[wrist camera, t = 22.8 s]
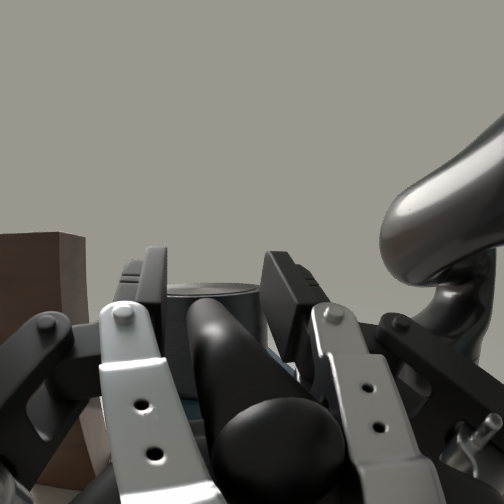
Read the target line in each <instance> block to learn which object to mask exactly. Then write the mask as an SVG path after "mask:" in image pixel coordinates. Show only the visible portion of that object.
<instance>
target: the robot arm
mask: <svg viewBox="0 0 504 504" xmlns="http://www.w3.org/2000/svg"><path fill="white" fill-rule="evenodd" d="M379 246H380V253H381V257H382V259H383V262H384V264H385V266H386V268H387V270H388V271H389V272H390V273H391V275H393V277H394V278H396V279H397V280H398V281H400V282H402V283H404V284H406V285H409V286H415V287H420V288H423V287H436V291H435V295H434V298H433V299H432V301H431V302H430V303H429V305H428V306H427V307H426V308H425V309H424V310H422V311H421V312H420V313H419V314H417V315H416V316H414V317H412V318H409V317H407V316H405V315H403V314H399V313H386V314H384V315H383V316H382V317H381V319H380V322H379V325H373V324H367V323H360V322H358V321H357V319H356V316H355V315H354V313H353V312H352V311H351V310H349V309H348V308H346V307H345V306H342V305H339V304H336V303H331V302H330V300H329V299H328V297H327V296H326V295H325V293H324V292H323V290H322V289H321V287H320V286H319V284H318V283H317V281H316V280H315V279H314V277H313V276H312V274H311V273H310V271H308V270H307V269H306V268H304V267H302V266H301V265H298V264H295V263H294V262H293V260H292V259H291V257H290V255H289V254H288V253H287V252H282V251H267V252H266V254H265V258H264V265H263V270H262V277H261V283H260V291H259V297H260V303H261V306H262V309H263V312H264V314H265V317H266V320H267V322H268V325H269V328H270V330H271V333H272V336H273V338H274V341H275V343H276V346H277V349H278V352H279V354H280V357H281V360H282V362H283V363H289V362H290V363H291V362H295V364H296V368H295V372H294V375H293V377H294V378H295V379H296V380H297V381H298V382H299V383H300V384H301V385H302V386H303V387H304V388H305V389H306V390H307V391H308V392H309V393H310V394H311V395H312V396H313V397H314V398H315V399H316V400H317V401H319V402H320V403H321V404H322V405H323V406H324V407H325V408H326V409H327V410H328V411H329V412H330V413H331V414H332V416H333V417H334V418H335V419H336V421H337V423H338V424H339V426H340V428H341V431H342V434H343V437H344V441H345V462H344V466H343V470H342V472H341V474H340V476H339V478H338V480H337V482H336V484H335V485H334V486H333V488H332V489H331V490H330V491H329V492H328V493H327V494H326V495H325V496H324V497H323V498H321V499H320V500H319V501H317V502H316V503H314V504H504V498H503V497H502V495H503V494H504V384H502V383H501V382H500V381H498V380H497V379H495V378H494V377H493V376H491V375H490V374H489V373H487V372H486V371H485V370H483V369H482V368H480V367H479V366H478V363H479V357H480V351H481V344H482V341H483V337H484V336H485V334H486V332H487V330H488V327H489V324H490V321H491V316H492V308H493V300H494V289H495V276H496V247H501V246H504V114H502V115H501V116H500V117H499V118H498V119H497V120H496V121H495V122H494V123H493V124H492V125H490V126H489V127H488V128H487V129H486V130H485V131H484V132H483V133H482V134H480V135H479V136H478V137H477V138H476V139H475V140H474V141H473V142H472V143H471V144H470V145H468V146H467V147H466V148H465V149H464V150H463V151H461V152H460V153H459V154H458V155H456V156H455V157H454V158H452V159H451V160H449V161H448V162H446V163H445V164H444V165H442V166H441V167H439V168H437V169H436V170H434V171H433V172H431V173H430V174H428V175H427V176H425V177H424V178H422V179H420V180H419V181H417V182H416V183H414V184H413V185H411V186H410V187H408V188H407V189H405V190H404V191H403V192H402V193H401V194H399V195H398V196H397V198H396V199H395V200H394V201H393V202H392V204H391V205H390V207H389V209H388V211H387V212H386V215H385V217H384V220H383V223H382V226H381V231H380V238H379ZM166 308H167V248H166V247H147V249H146V253H145V257H144V260H131V261H130V262H129V263H128V264H126V265H125V266H124V269H123V272H122V276H121V278H120V282H119V284H118V287H117V290H116V294H115V297H114V300H113V303H112V304H109V305H107V306H106V307H104V308H103V309H102V310H101V312H100V314H99V320H97V321H95V322H92V323H87V324H81V325H74V326H71V322H70V319H69V318H68V317H67V316H66V315H65V314H63V313H60V312H55V311H48V312H42V313H39V314H37V315H35V316H33V317H32V318H30V319H29V320H28V321H27V322H26V323H25V324H24V325H22V326H21V327H20V328H19V329H18V330H17V331H16V332H15V333H14V334H12V335H11V336H10V337H9V338H8V339H7V340H6V341H5V342H4V343H3V344H2V345H1V346H0V504H34V501H33V498H32V496H31V494H30V491H31V489H32V488H33V486H34V484H35V483H36V481H37V480H38V478H39V477H40V475H41V473H42V472H43V470H44V469H45V467H46V466H47V464H48V463H49V461H50V459H51V458H52V456H53V455H54V453H55V452H56V450H57V449H58V447H59V446H60V444H61V443H62V441H63V440H64V438H65V437H66V435H67V434H68V432H69V431H70V429H71V428H72V426H73V425H74V423H75V422H76V421H77V419H78V418H79V416H80V415H81V413H82V412H83V410H84V409H85V407H86V406H87V405H88V403H89V401H90V398H94V397H100V396H102V401H103V408H104V416H105V423H106V430H107V436H108V441H109V447H110V452H111V458H112V462H111V463H110V464H109V465H108V466H107V467H106V468H105V469H104V470H103V471H102V472H101V473H100V474H99V475H98V476H97V477H96V478H95V479H94V480H93V481H92V482H91V483H90V484H88V485H87V486H86V487H85V488H84V489H83V490H82V491H81V492H80V493H79V494H78V495H77V496H76V497H75V498H74V499H73V500H72V501H71V502H69V503H68V504H239V503H237V502H236V501H235V500H233V499H232V498H231V497H230V496H228V495H227V494H226V492H225V491H224V490H223V489H222V488H221V486H220V485H219V483H218V481H217V480H216V478H215V475H214V473H213V470H212V466H211V462H210V457H209V452H208V447H207V441H206V436H205V428H204V419H197V420H187V417H186V415H185V412H184V409H183V407H182V404H181V401H180V398H179V395H178V393H177V390H176V387H175V384H174V381H173V378H172V375H171V372H170V369H169V366H168V363H167V360H166V358H165V357H164V352H165V327H166ZM42 382H44V384H43V385H42V386H41V388H40V389H39V390H38V391H37V392H36V393H35V395H34V396H33V397H32V398H31V400H30V401H29V402H28V400H29V398H30V397H31V395H32V394H33V393H34V392H35V391H36V389H37V388H38V387H39V386H40V385H41V383H42ZM27 402H28V403H27Z"/></svg>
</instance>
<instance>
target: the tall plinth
mask: <svg viewBox="0 0 504 504" xmlns="http://www.w3.org/2000/svg"><path fill="white" fill-rule="evenodd" d="M85 251H86V250H85V237H82V236H77V235H73V234H68V233H65V232H60V231H50V232H24V233H2V234H0V346H1V345H2V344H3V343H4V342H5V341H6V340H7V339H8V338H9V337H10V336H11V335H12V334H14V333H15V332H16V331H17V330H18V329H19V328H20V327H21V326H22V325H24V324H25V323H26V322H27V321H28V320H29V319H30V318H32V317H33V316H35V315H37V314H39V313H42V312H48V311H55V312H60V313H63V314H65V315H66V316H67V317H68V318H69V319H70V322H71V326H74V325H81V324H87V323H89V315H88V301H87V286H86V285H87V284H86V252H85ZM43 384H44V382H42V383H41V385H40V386H39V387H38V388H37V389H36V391H35V392H34V393H33V394H32V395H31V397H30V398H29V400H28V402H29V401H30V400H31V398H32V397H33V396H34V395H35V393H36V392H37V391H38V390H39V389H40V388H41V386H42V385H43ZM28 402H27V403H28ZM110 454H111V452H110V447H109V441H108V436H107V431H106V427H105V422H104V418H103V414H102V408H101V403H100V398H99V397H94V398H90V401H89V403H88V405H87V406H86V407H85V409H84V410H83V412H82V413H81V415H80V416H79V418H78V419H77V421H76V422H75V423H74V425H73V426H72V428H71V429H70V431H69V432H68V434H67V435H66V437H65V438H64V440H63V441H62V443H61V444H60V446H59V447H58V449H57V450H56V452H55V453H54V455H53V456H52V458H51V459H50V461H49V463H48V464H47V466H46V467H45V469H44V470H43V472H42V473H41V475H40V477H39V478H38V480H37V481H36V483H37V484H42V485H48V486H53V487H59V488H66V489H73V490H81V491H82V490H83V489H84V488H85V487H86V486H87V485H88V484H90V483H91V482H92V481H93V480H94V479H95V478H96V477H97V476H98V475H99V474H100V473H101V472H102V471H103V470H104V469H105V468H106V467H107V466H108V462H109V458H110Z"/></svg>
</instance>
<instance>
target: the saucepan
mask: <svg viewBox="0 0 504 504" xmlns="http://www.w3.org/2000/svg"><path fill="white" fill-rule="evenodd" d="M259 291H260V285H254V284H242V283H241V284H240V283H186V284H168V285H167V308H166V327H165V352H164V357H165V358H166V360H167V363H168V366H169V369H170V372H171V375H172V378H173V381H174V384H175V387H176V390H177V393H178V395H179V398H180V399H182V400H197V401H198V402H199V407H200V412H201V418H202V419H204V428H205V436H206V441H207V447H208V452H209V457H210V462H211V466H212V470H213V473H214V475H215V478H216V480H217V481H218V483H219V485H220V486H221V488H222V489H223V490H224V491H225V492H226V494H227V495H228V496H230V497H231V498H232V499H233V500H235V501H236V502H237V503H239V504H314V503H316V502H317V501H319V500H320V499H321V498H323V497H324V496H325V495H326V494H327V493H328V492H329V491H330V490H331V489H332V488H333V486H334V485H335V484H336V482H337V480H338V478H339V476H340V474H341V472H342V470H343V466H344V462H345V441H344V437H343V434H342V431H341V428H340V426H339V424H338V423H337V421H336V419H335V418H334V417H333V416H332V414H331V413H330V412H329V411H328V410H327V409H326V408H325V407H324V406H323V405H322V404H321V403H320V402H319V401H317V400H316V399H315V398H314V397H313V396H312V395H311V394H310V393H309V392H308V391H307V390H306V389H305V388H304V387H303V386H302V385H301V384H300V383H299V382H298V381H297V380H296V379H295V378H294V377H293V376H292V375H291V374H290V373H289V372H288V371H287V370H286V369H285V368H284V367H283V366H282V365H281V364H280V363H279V362H278V361H277V360H276V359H275V358H274V357H273V356H272V355H271V354H270V353H269V352H268V344H267V320H266V317H265V314H264V312H263V309H262V306H261V303H260V297H259Z"/></svg>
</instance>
